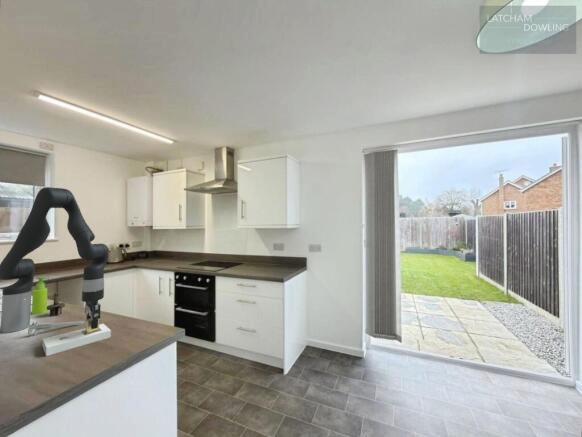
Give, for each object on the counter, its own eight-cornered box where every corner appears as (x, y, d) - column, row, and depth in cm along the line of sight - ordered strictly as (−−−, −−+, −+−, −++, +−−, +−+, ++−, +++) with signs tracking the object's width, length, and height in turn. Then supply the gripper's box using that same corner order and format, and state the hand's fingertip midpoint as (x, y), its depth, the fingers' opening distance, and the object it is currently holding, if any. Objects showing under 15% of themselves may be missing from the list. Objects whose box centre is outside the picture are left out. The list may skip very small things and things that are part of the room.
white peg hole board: (42, 346, 97) (42, 338, 97) (103, 329, 112) (103, 323, 112) (46, 356, 89) (46, 347, 89) (110, 337, 105) (111, 330, 105)
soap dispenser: (40, 314, 132) (42, 278, 133) (28, 314, 132) (30, 278, 133) (51, 310, 138) (52, 276, 139) (39, 310, 138) (41, 276, 139)
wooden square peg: (84, 338, 104) (85, 319, 104) (95, 334, 107) (96, 316, 108) (86, 340, 102) (87, 321, 102) (98, 337, 105) (99, 318, 105)
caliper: (28, 338, 105) (28, 323, 105) (27, 337, 105) (28, 323, 105) (87, 323, 121) (87, 310, 121) (86, 322, 121) (87, 310, 122)
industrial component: (64, 314, 132) (65, 293, 132) (46, 318, 127) (47, 295, 127) (64, 310, 139) (65, 290, 139) (46, 313, 134) (47, 292, 134)
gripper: (78, 288, 107) (77, 324, 106) (86, 293, 98) (84, 333, 97) (99, 284, 113) (98, 319, 112) (108, 289, 104) (107, 327, 103)
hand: (91, 325), depth 104 cm, fingers open, 8 cm apart
